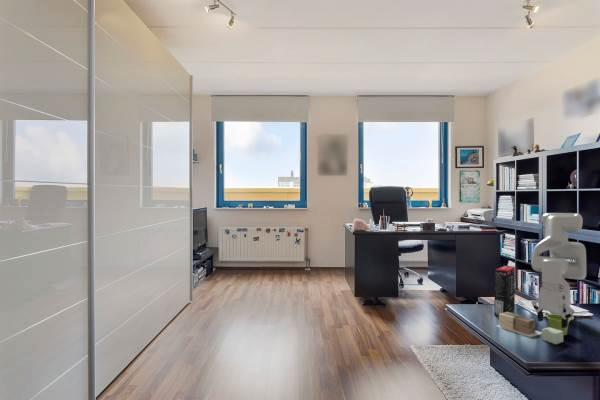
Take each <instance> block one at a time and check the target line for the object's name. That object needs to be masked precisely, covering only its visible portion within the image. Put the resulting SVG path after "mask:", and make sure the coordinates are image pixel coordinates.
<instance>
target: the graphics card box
mask: <svg viewBox="0 0 600 400" xmlns="http://www.w3.org/2000/svg"><path fill="white" fill-rule="evenodd" d="M515 299H516V266H514V265H513V266H512V265H503V266H500V267H498V268H496V269H495V270H494V309H493V310H494V311H493V314H494V315H493V316H494V317H498V318H499V314H500V313H504V312H510V313H514V314H515V307H516V305H515V303H516V302H515V301H516V300H515Z"/></svg>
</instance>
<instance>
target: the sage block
mask: <svg viewBox="0 0 600 400" xmlns="http://www.w3.org/2000/svg"><path fill="white" fill-rule="evenodd" d="M541 332H542V334H541V340H542V341H545V342H548V343H552V344H553V345H558V344H561V343H564V335H563V331H561V330H557V329H554V328H550V326H548V327H545V328H542V329H541Z"/></svg>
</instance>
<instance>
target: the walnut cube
mask: <svg viewBox="0 0 600 400" xmlns="http://www.w3.org/2000/svg"><path fill="white" fill-rule="evenodd" d="M515 330H516V331H519V332H522V333H525V334H531V333H534V332H535V330H536V319H533V318H530V317H526V316H522V315H521V317H518V318H515Z"/></svg>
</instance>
